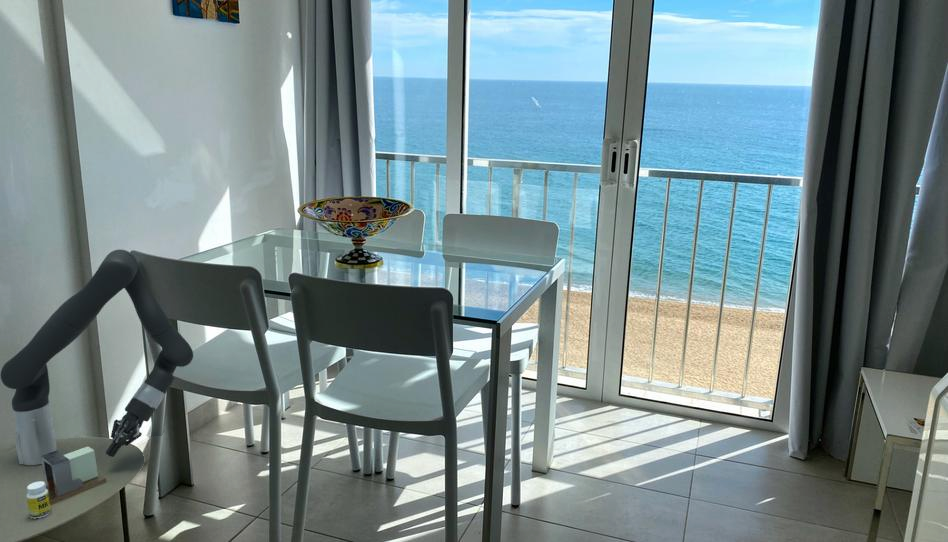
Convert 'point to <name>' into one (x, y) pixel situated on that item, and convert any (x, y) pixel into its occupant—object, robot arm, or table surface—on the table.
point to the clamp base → (64, 478)
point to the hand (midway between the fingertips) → (109, 455)
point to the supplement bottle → (38, 500)
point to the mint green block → (83, 464)
